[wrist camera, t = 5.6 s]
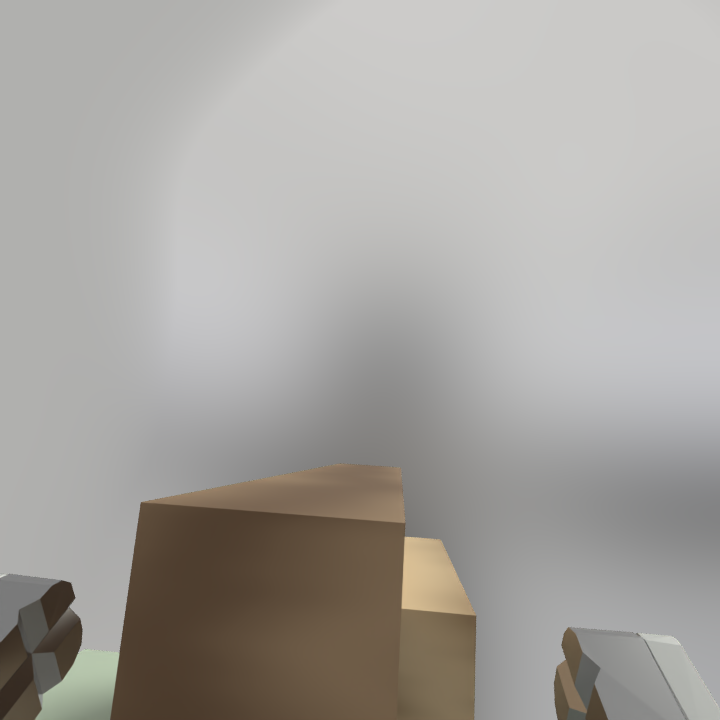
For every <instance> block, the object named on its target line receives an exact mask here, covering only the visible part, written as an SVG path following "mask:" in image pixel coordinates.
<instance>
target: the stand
mask: <svg viewBox="0 0 720 720" xmlns="http://www.w3.org/2000/svg"><path fill="white" fill-rule="evenodd" d="M475 646H476V614H475V612H474V610H473V608H472V606H471V604H470V602H469V599H468V597H467V595H466V593H465V591H464V589H463V586H462V585H461V582H460V580H459V578H458V576H457V574H456V572H455V569H454V567H453V565H452V563H451V561H450V559H449V557H448V555H447V552H446V550H445V548H444V546H443V544H442V542H441V540H438V539H426V538H413V537H405V542H404V564H403V586H402V608H401V630H400V652H399V674H398V696H397V718H396V720H474V701H475V698H474V697H475V649H476V647H475Z"/></svg>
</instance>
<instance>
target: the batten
mask: <svg viewBox="0 0 720 720" xmlns="http://www.w3.org/2000/svg"><path fill="white" fill-rule="evenodd" d="M404 542H405V513H404V501H403V489H402V477H401V468H397V467H384V466H370V465H354V464H335V465H330V466H325V467H319V468H314V469H310V470H304V471H300V472H294V473H289V474H284V475H278V476H274V477H268V478H263V479H258V480H253V481H248V482H243V483H237V484H232V485H227V486H222V487H217V488H212V489H206V490H202V491H196V492H191V493H186V494H181V495H176V496H171V497H165V498H160V499H155V500H150V501H145V502H141V505H140V513H139V519H138V526H137V533H136V540H135V547H134V555H133V561H132V569H131V576H130V583H129V590H128V597H127V604H126V611H125V618H124V626H123V633H122V640H121V646H120V653H119V660H118V667H117V674H116V681H115V689H114V696H113V703H112V710H111V717H110V720H396V718H397V696H398V674H399V652H400V630H401V608H402V586H403V564H404Z"/></svg>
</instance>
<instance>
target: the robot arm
mask: <svg viewBox="0 0 720 720" xmlns="http://www.w3.org/2000/svg"><path fill="white" fill-rule="evenodd" d="M74 599H75V595H74V592H73V588H72V585H71V583H70V582H66V581H62V580H55V579H47V578H38V577H30V576H22V575H13V574H2V573H0V720H35V718H36V717H37V716H38V714H39V713H40V711H41V710H42V702H43V694H44V693H45V692H47V691H48V690H50V689H51V688H53V687H54V686H56V685H57V684H59V683H60V682H62V680H63V679H64V677H65V676H66V674H67V673H68V672H69V670H70V669H71V667H72V666H73V664H74V662H75V659H76V657H77V654H78V651H79V649H80V646H81V642H82V625H81V620H80V618H79V617H78V616H77V615H76V614H75V613H74V612H73V611H72V610H71V609H70V605H71V604H72V602H73V601H74ZM562 648H563V652H564V655H565V658H566V660H565V661H564V662H562V663H561V664H560V665H558V666H557V669H556V675H555V681H554V693H555V707H556V713H557V718H558V720H720V708H719V707H718V705H717V703H716V702H715V700H714V698H713V697H712V695H711V693H710V692H709V690H708V688H707V687H706V685H705V683H704V682H703V680H702V678H701V677H700V675H699V674H698V672H697V670H696V669H695V667H694V665H693V664H692V662H691V660H690V659H689V657H688V655H687V654H686V652H685V650H684V649H683V647H682V645H681V644H680V642H678V641H677V640H676V639H675V638H674V637H672V636H665V635H653V634H642V633H636V634H635V633H633V632H621V631H607V630H597V629H584V628H572V627H568V629H567V630H566V631H565V633H564V637H563V641H562Z"/></svg>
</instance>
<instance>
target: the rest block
mask: <svg viewBox="0 0 720 720" xmlns="http://www.w3.org/2000/svg"><path fill="white" fill-rule="evenodd" d="M118 660H119V653H117V652H108V651H99V650H89V649H85V650H83V651H81V652H80V653H78V654H77V657H76V659H75V662H74V664H73V666H72V667H71V669H70V670H69V672H68V673H67V674H66V676H65V677H64V679H63V680H62V682H60V683H59V684H57V685H56V686H54V687H53V688H51V689H50V690H48V691H47V692H45V693H44V694H43V702H42V710H41V711H40V713H39V714H38V716H37V717H36V718H35V720H110V717H111V710H112V703H113V696H114V689H115V681H116V674H117V667H118Z"/></svg>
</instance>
